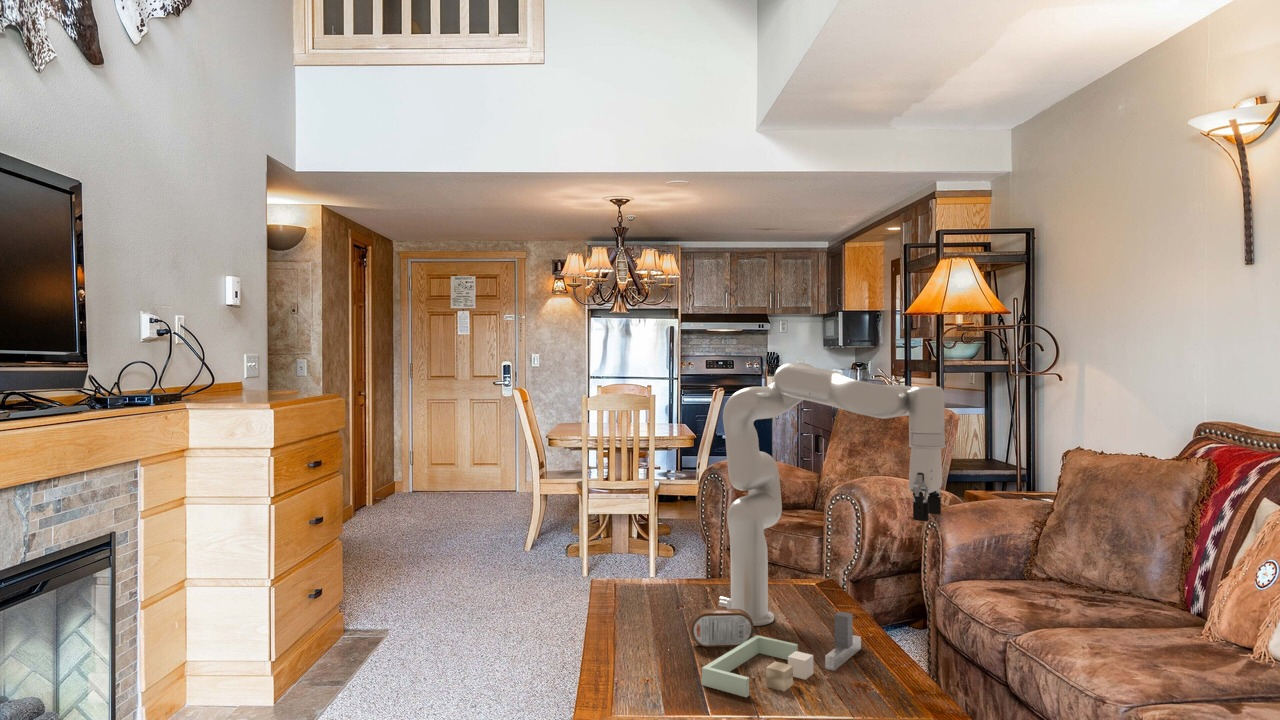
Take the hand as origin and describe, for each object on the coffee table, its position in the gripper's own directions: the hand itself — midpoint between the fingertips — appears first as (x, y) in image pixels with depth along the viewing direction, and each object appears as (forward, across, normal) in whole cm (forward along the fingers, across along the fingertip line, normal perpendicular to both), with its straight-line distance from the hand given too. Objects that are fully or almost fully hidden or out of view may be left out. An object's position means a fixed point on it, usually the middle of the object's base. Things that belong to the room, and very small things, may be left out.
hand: (927, 517), depth 173 cm
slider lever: (+31, +12, -15) cm, 37 cm away
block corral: (+31, +31, -27) cm, 52 cm away
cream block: (+31, +26, -19) cm, 45 cm away
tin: (+32, +21, -41) cm, 56 cm away
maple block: (+31, +34, -20) cm, 50 cm away
